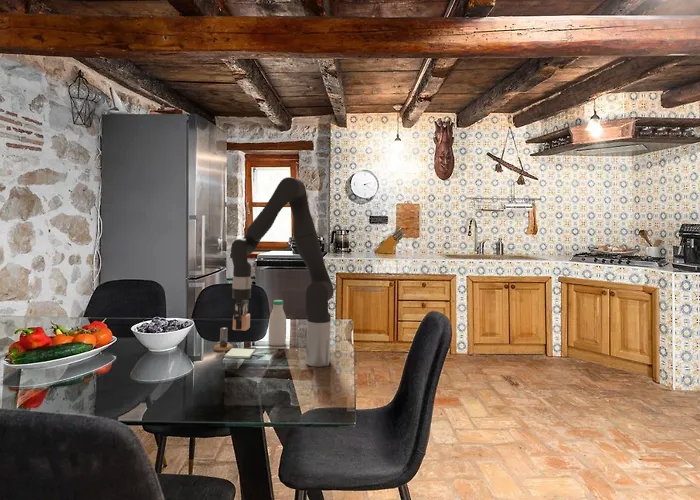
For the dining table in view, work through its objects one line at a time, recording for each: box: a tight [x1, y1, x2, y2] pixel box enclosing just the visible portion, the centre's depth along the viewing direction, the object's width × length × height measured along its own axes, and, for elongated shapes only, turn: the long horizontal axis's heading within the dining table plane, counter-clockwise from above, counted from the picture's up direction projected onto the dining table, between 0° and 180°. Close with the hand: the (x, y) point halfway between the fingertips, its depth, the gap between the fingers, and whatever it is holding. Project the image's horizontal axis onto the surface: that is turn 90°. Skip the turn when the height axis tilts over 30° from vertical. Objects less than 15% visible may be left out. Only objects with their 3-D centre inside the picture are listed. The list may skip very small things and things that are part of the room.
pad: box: [224, 347, 256, 359], centre depth 181 cm, size 10×10×1 cm
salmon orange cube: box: [232, 313, 251, 332], centre depth 180 cm, size 6×6×6 cm
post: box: [213, 327, 234, 353], centre depth 187 cm, size 8×8×9 cm
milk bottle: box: [268, 299, 287, 347], centre depth 197 cm, size 8×8×20 cm
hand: (240, 327), depth 180 cm, fingers closed on salmon orange cube, 5 cm apart
